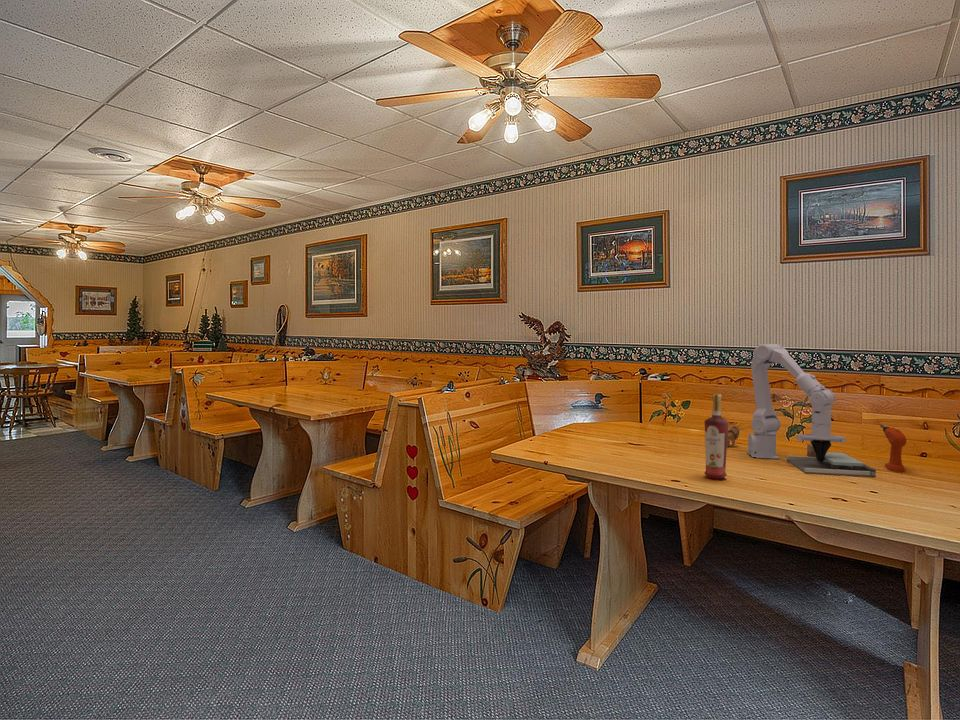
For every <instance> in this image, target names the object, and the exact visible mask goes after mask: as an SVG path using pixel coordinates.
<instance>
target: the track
mask: <svg viewBox="0 0 960 720" xmlns="http://www.w3.org/2000/svg"><path fill="white" fill-rule="evenodd" d="M786 462H788V463H790V464H791V465H792V464H793V466H794V467H795V468H797V469H798V470H799V469H800V471H801V472H803V474H807V475H810V474H811V475H825V476H840V475H841V476H842V475H843V477H859V478H862V477H863V478H876V477H877V475H876V473H877V470H876V469H874V468H872V467H871V466H869V465H867V464H865V463H863V466H861V467H862V470H861V471H854V470H853V466H847V465H839V466H840V469H839V470H834V469H831V465H832V464H831V463H829V462H828V461H826V460H824V461H823V462H818V461H817V459H816V457H807V456H801V455H800V456H797V455H796V456H795V455H787V456H786Z"/></svg>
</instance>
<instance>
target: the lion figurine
mask: <svg viewBox="0 0 960 720" xmlns="http://www.w3.org/2000/svg"><path fill="white" fill-rule="evenodd" d="M739 437H740V428H739V427H738V426H737V425H735V424H734V425H730V426H729V428H728V440H727V447H728V446H730V447H732V448H733V447H735V448H736V446H735V444H736V441H737V439H738V438H739ZM730 442H731V445H730Z"/></svg>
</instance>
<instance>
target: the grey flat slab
mask: <svg viewBox="0 0 960 720" xmlns="http://www.w3.org/2000/svg"><path fill="white" fill-rule="evenodd" d="M815 455H816V453H815ZM816 459H817V457H816ZM824 460H826V461H828V462H829V463H831V464H832V465H831V469H834V470H839V469H840V466H839V465H847V466H853V470H854V471H861V470H862V467H861V466H863V464H864V463H863V462H862V461H860V460H858V459H856V458H854V457H852V456H849V454H846V453H844V452H834V451H833V452H830V451H829V452H828V451H827V453H826V455H825V457H824Z"/></svg>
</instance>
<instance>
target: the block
mask: <svg viewBox="0 0 960 720" xmlns="http://www.w3.org/2000/svg"><path fill="white" fill-rule="evenodd" d="M806 446H807V447H806V448H807V449H806V457H807V456H808V457H816V455H815V450H814V448H813V446H812V444H811V443H806Z"/></svg>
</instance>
